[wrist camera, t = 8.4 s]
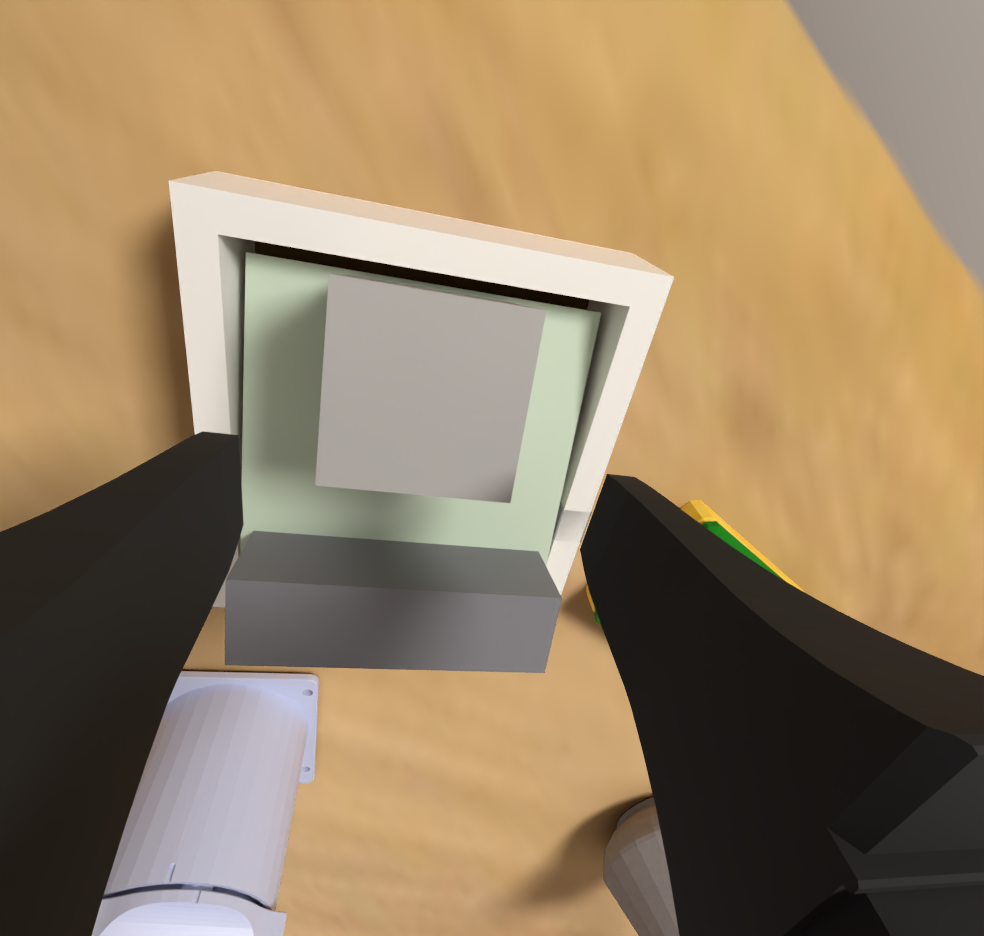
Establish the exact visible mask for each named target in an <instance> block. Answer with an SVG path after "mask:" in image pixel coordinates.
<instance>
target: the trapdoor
mask: <svg viewBox="0 0 984 936" xmlns="http://www.w3.org/2000/svg"><path fill="white" fill-rule="evenodd" d="M329 274H341V275H354V276H360V277H366V278H372V279H378V280H384V281H390V282H396V283H402V284H407V285H413V286H419V287H425V288H431V289H437V290H443V291H449V292H455V293H460V294H466V295H472V296H478V297H484V298H490V299H496V300H502V301H507V302H511V303H516V304H520V305H524V306H529V307H533V308H537V309H542V310H546V316H545V321H544V326H543V332H542V337H541V342H540V348H539V353H538V358H537V364H536V369H535V374H534V380H533V385H532V390H531V396H530V401H529V406H528V412H527V417H526V422H525V428H524V433H523V438H522V444H521V449H520V454H519V460H518V465H517V470H516V476H515V481H514V486H513V492H512V497H511V502H510V503H501V502H490V501H479V500H468V499H457V498H447V497H436V496H425V495H414V494H403V493H392V492H381V491H370V490H359V489H348V488H337V487H326V486H315V482H316V467H317V451H318V436H319V420H320V404H321V389H322V373H323V358H324V342H325V327H326V311H327V296H328V280H329ZM600 316H601V313H600V312H594V311H588V310H582V309H576V308H571V307H565V306H559V305H553V304H547V303H541V302H536V301H530V300H524V299H518V298H512V297H506V296H500V295H495V294H489V293H483V292H477V291H471V290H465V289H460V288H454V287H448V286H442V285H436V284H430V283H424V282H419V281H413V280H407V279H401V278H395V277H389V276H384V275H378V274H372V273H366V272H360V271H354V270H348V269H343V268H337V267H331V266H325V265H319V264H313V263H308V262H302V261H296V260H290V259H284V258H278V257H272V256H267V255H261V254H255V253H249V252H246V267H245V322H244V377H243V432H242V505H243V523H244V525H243V528H242V531H241V542H240V556H239V557H238V559H237V561H236V562H235V564H234V566H233V568H232V569H231V571H230V573H229V574H228V576H227V578H226V584H225V665H247V666H287V667H327V668H367V669H407V670H447V671H487V672H527V673H545V669H546V664H547V660H548V656H549V651H550V647H551V643H552V639H553V634H554V630H555V626H556V621H557V617H558V613H559V608H560V604H561V600H562V597H561V595H560V593H559V591H558V589H557V587H556V585H555V583H554V581H553V579H552V577H551V575H550V573H549V571H548V569H547V567H546V564H547V560H548V555H549V551H550V546H551V541H552V537H553V532H554V528H555V523H556V519H557V514H558V509H559V505H560V500H561V496H562V491H563V486H564V482H565V477H566V473H567V468H568V463H569V459H570V454H571V450H572V445H573V440H574V436H575V431H576V427H577V422H578V417H579V413H580V408H581V404H582V399H583V394H584V390H585V385H586V381H587V376H588V372H589V367H590V362H591V358H592V353H593V349H594V344H595V339H596V335H597V330H598V326H599V321H600Z"/></svg>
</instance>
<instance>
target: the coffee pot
mask: <svg viewBox="0 0 984 936" xmlns="http://www.w3.org/2000/svg"><path fill="white" fill-rule="evenodd" d="M603 877H604V881H605V884H606V885H607V887H608V888H609V890H610V892H611V893H612V895H613V896H614V898H615V899H616V901H617V902H618V904H619V905H620V907H621V909H622V910H623V912H624V913H625V915H626V916H627V918H628V919H629V921H630V923H631V924H632V926H633V927H634V929H635V930H636V932H637V933H638V935H639V936H679V930H678V924H677V918H676V912H675V906H674V900H673V894H672V888H671V882H670V876H669V871H668V866H667V861H666V856H665V851H664V846H663V841H662V836H661V831H660V825H659V820H658V815H657V810H656V806H655V801H654V797H652V798H649V799H647V800H645V801H643V802H640V803H638V804H636V805H635V806H633V807H632V808H631V809H629V810H628V811H626V812H625V813H624V814H623V816H622V817H621V818H620V819H619V821H618V823H617V829H616V830H615V831H614V833H613V835H612V837H611V839H610V841H609V843H608V845H607V847H606V850H605V852H604V862H603Z"/></svg>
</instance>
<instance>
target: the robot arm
mask: <svg viewBox="0 0 984 936" xmlns="http://www.w3.org/2000/svg"><path fill="white" fill-rule="evenodd" d="M243 525H244V523H243V505H242V486H241V468H240V449H239V435H232V434H223V433H213V432H204V431H202V432H200V433H198V434H196V435H194V436H192V437H190V438H188V439H186V440H184V441H182V442H181V443H179V444H177V445H175V446H173V447H172V448H170V449H168V450H166V451H165V452H163V453H161V454H159V455H157V456H156V457H154V458H152V459H150V460H148V461H147V462H145V463H143V464H141V465H139V466H137V467H136V468H134V469H132V470H130V471H128V472H127V473H125V474H123V475H121V476H119V477H117V478H116V479H114V480H112V481H110V482H108V483H106V484H104V485H102V486H100V487H98V488H96V489H94V490H92V491H90V492H88V493H85V494H83V495H81V496H79V497H77V498H75V499H73V500H71V501H69V502H67V503H65V504H63V505H61V506H59V507H57V508H55V509H53V510H51V511H49V512H46V513H44V514H42V515H40V516H38V517H35V518H33V519H31V520H28V521H26V522H24V523H21V524H19V525H17V526H14V527H12V528H9V529H7V530H4V531H2V532H0V936H283V934H284V928H285V922H286V916H287V914H286V912H280V911H276V905H277V900H278V894H279V888H280V883H281V877H282V872H283V866H284V861H285V855H286V850H287V844H288V839H289V833H290V828H291V822H292V817H293V811H294V805H295V800H296V794H297V789H298V783H309V782H311V781H312V780H314V776H315V762H316V739H317V717H318V694H319V679H318V677H317V676H315V675H313V674H288V673H244V672H200V671H182V669H183V667H184V665H185V662H186V660H187V658H188V656H189V654H190V652H191V650H192V648H193V646H194V644H195V642H196V640H197V637H198V635H199V633H200V631H201V629H202V627H203V625H204V623H205V621H206V619H207V617H208V615H209V612H210V610H211V608H212V606H213V604H214V602H215V600H216V598H217V596H218V593H219V591H220V589H221V587H222V585H223V583H224V581H225V579H226V576H227V574H228V572H229V570H230V567H231V564H232V560H233V557H234V554H235V551H236V548H237V545H238V541H239V538H240V535H241V531H242V528H243ZM580 551H581V556H582V561H583V567H584V572H585V576H586V580H587V585H588V589H589V592H590V595H591V598H592V601H593V604H594V607H595V609H596V612H597V615H598V617H599V620H600V623H601V626H602V628H603V631H604V634H605V636H606V639H607V641H608V644H609V647H610V649H611V652H612V655H613V657H614V660H615V663H616V665H617V668H618V671H619V673H620V676H621V679H622V681H623V684H624V687H625V690H626V693H627V696H628V699H629V702H630V705H631V708H632V712H633V716H634V720H635V723H636V727H637V731H638V735H639V739H640V743H641V746H642V750H643V754H644V758H645V763H646V767H647V771H648V776H649V780H650V784H651V789H652V793H653V797H654V801H655V806H656V810H657V815H658V820H659V825H660V831H661V836H662V841H663V846H664V851H665V856H666V861H667V866H668V871H669V876H670V882H671V888H672V894H673V900H674V906H675V912H676V918H677V924H678V930H679V936H984V676H982V675H979V674H977V673H974V672H971V671H969V670H966V669H964V668H961V667H959V666H956V665H954V664H952V663H949V662H947V661H944V660H942V659H940V658H937V657H935V656H933V655H930V654H928V653H926V652H923V651H921V650H919V649H916V648H914V647H912V646H909V645H907V644H905V643H903V642H901V641H899V640H896V639H894V638H892V637H890V636H888V635H885V634H883V633H881V632H879V631H877V630H875V629H873V628H871V627H869V626H867V625H865V624H863V623H861V622H859V621H857V620H855V619H853V618H851V617H849V616H847V615H845V614H843V613H841V612H839V611H837V610H835V609H833V608H832V607H830V606H828V605H826V604H824V603H822V602H820V601H819V600H817V599H815V598H813V597H811V596H810V595H808V594H806V593H805V592H803V591H801V590H799V589H798V588H796V587H794V586H793V585H791V584H789V583H787V582H786V581H784V580H782V579H781V578H779V577H777V576H776V575H774V574H773V573H771V572H769V571H768V570H766V569H765V568H763V567H762V566H760V565H759V564H757V563H756V562H754V561H753V560H751V559H750V558H748V557H747V556H745V555H744V554H742V553H741V552H739V551H738V550H736V549H735V548H733V547H732V546H730V545H729V544H728V543H726V542H725V541H723V540H722V539H721V538H719V537H718V536H716V535H715V534H714V533H712V532H711V531H710V530H708V529H707V528H705V527H704V526H703V525H701V524H700V523H699V522H697V521H696V520H695V519H693V518H692V517H691V516H689V515H688V514H687V513H685V512H684V511H683V510H681V509H680V508H679V507H677V506H676V505H675V504H673V503H672V502H671V501H669V500H668V499H667V498H665V497H664V496H662V495H661V494H660V493H658V492H657V491H655V490H654V489H653V488H651V487H650V486H648V485H647V484H645V483H644V482H642V481H640V480H639V479H637V478H635V477H630V476H620V475H611V474H607V476H606V479H605V482H604V484H603V487H602V490H601V493H600V495H599V498H598V501H597V504H596V507H595V509H594V512H593V515H592V518H591V521H590V523H589V526H588V529H587V532H586V535H585V537H584V540H583V543H582V546H581V548H580Z"/></svg>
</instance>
